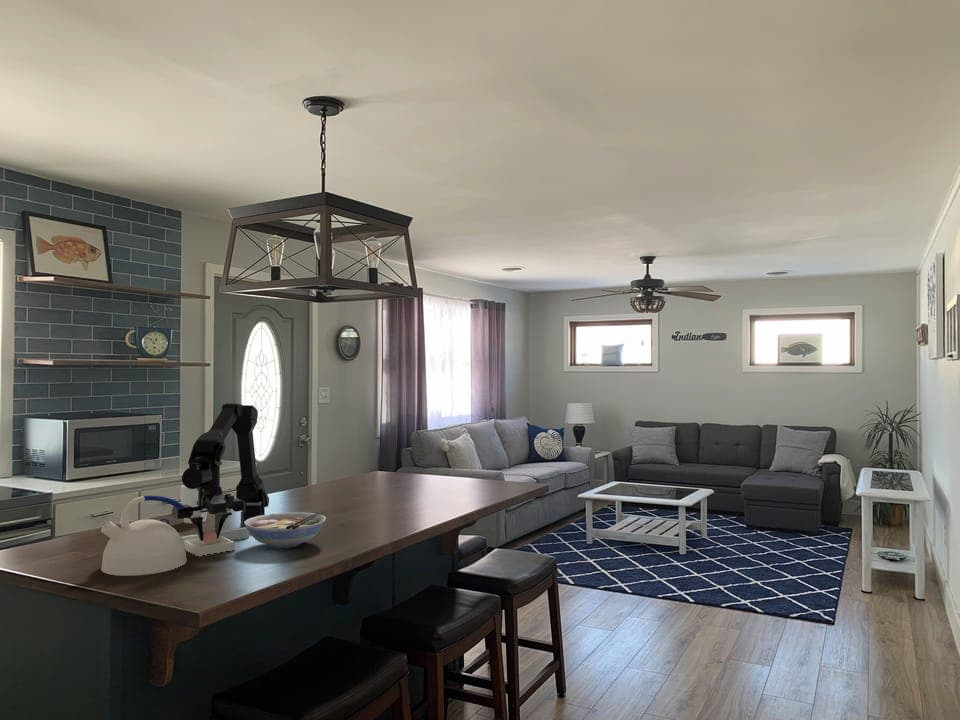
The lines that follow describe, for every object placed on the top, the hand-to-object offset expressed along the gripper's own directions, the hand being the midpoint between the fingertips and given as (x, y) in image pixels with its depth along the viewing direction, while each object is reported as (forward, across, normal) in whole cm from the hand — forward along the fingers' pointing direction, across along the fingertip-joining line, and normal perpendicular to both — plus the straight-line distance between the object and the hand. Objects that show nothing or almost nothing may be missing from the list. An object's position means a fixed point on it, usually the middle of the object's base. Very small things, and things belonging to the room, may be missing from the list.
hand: (209, 539), depth 210 cm
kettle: (+3, -18, -5) cm, 19 cm away
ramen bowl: (+3, +18, -9) cm, 21 cm away
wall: (+3, +4, +8) cm, 10 cm away
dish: (+3, 0, 0) cm, 3 cm away
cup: (+3, +10, +42) cm, 43 cm away
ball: (-1, 0, 0) cm, 1 cm away
